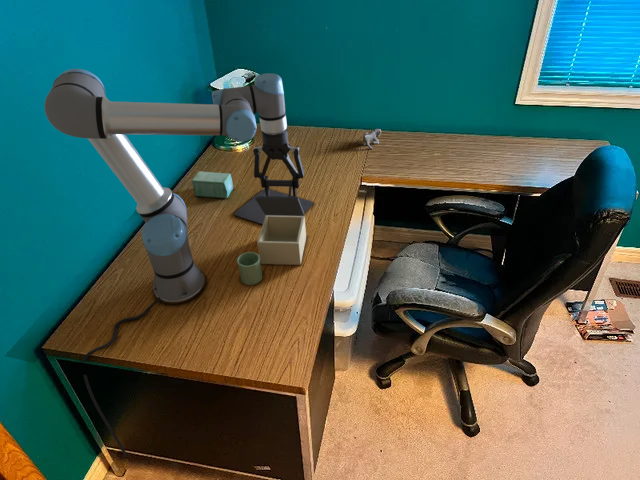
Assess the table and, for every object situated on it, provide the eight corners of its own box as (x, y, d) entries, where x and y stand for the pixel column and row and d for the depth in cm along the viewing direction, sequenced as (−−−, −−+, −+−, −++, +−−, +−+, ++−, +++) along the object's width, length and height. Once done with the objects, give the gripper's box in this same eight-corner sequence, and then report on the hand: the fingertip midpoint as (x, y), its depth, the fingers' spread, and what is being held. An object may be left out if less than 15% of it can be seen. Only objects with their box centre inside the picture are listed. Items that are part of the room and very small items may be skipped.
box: (228, 198, 187) (224, 182, 182) (195, 196, 189) (191, 180, 185) (234, 188, 193) (231, 172, 188) (202, 187, 195) (198, 170, 190)
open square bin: (300, 265, 154) (298, 243, 149) (260, 263, 156) (256, 242, 150) (306, 237, 166) (304, 216, 160) (268, 236, 167) (265, 215, 162)
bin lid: (297, 199, 145) (299, 176, 147) (254, 198, 146) (257, 176, 148) (304, 216, 160) (305, 195, 162) (265, 215, 161) (267, 194, 163)
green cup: (257, 286, 147) (254, 268, 143) (237, 283, 149) (233, 264, 144) (265, 271, 152) (263, 253, 148) (245, 268, 154) (242, 250, 149)
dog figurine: (369, 151, 212) (369, 135, 208) (359, 147, 215) (359, 131, 211) (385, 140, 219) (386, 125, 215) (375, 137, 222) (375, 122, 218)
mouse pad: (314, 202, 182) (314, 202, 182) (284, 232, 168) (284, 231, 168) (264, 188, 191) (264, 187, 191) (232, 214, 178) (232, 214, 178)
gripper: (311, 124, 142) (315, 190, 156) (241, 123, 144) (252, 189, 158) (308, 135, 136) (312, 203, 150) (235, 135, 138) (246, 201, 152)
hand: (281, 195), depth 154 cm, fingers closed on bin lid, 8 cm apart
